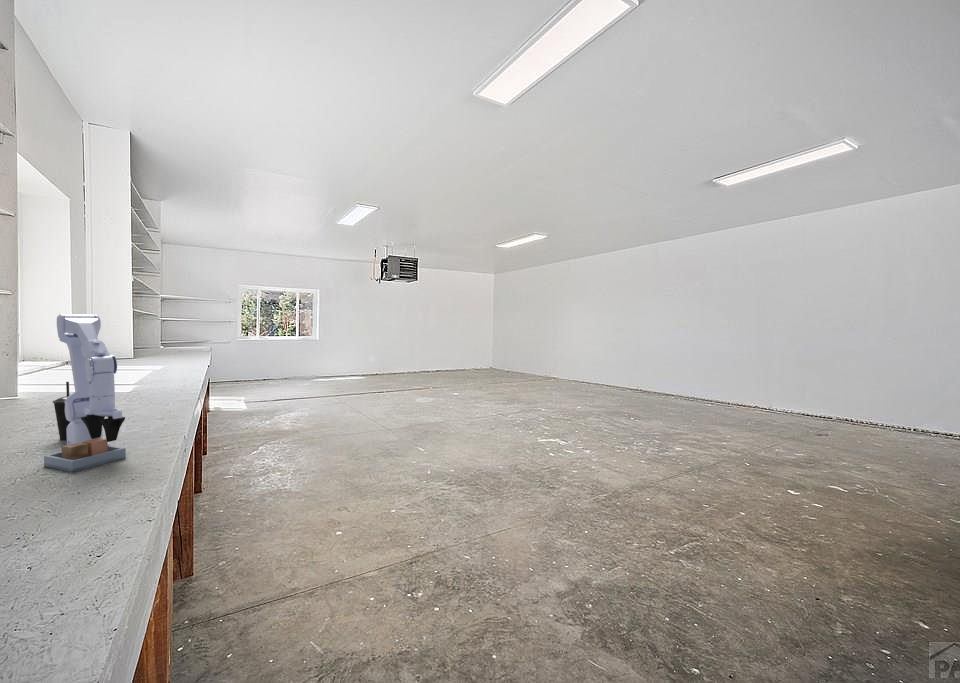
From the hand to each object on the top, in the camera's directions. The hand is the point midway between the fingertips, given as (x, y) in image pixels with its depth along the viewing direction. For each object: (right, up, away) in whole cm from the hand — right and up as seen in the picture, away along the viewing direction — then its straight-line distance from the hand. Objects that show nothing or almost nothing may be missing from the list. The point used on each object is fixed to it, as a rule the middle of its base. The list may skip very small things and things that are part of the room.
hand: (103, 439), depth 129 cm
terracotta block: (0, -5, -2) cm, 5 cm away
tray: (-1, -6, -4) cm, 7 cm away
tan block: (-2, -5, -7) cm, 9 cm away
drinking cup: (-29, -4, +19) cm, 35 cm away
